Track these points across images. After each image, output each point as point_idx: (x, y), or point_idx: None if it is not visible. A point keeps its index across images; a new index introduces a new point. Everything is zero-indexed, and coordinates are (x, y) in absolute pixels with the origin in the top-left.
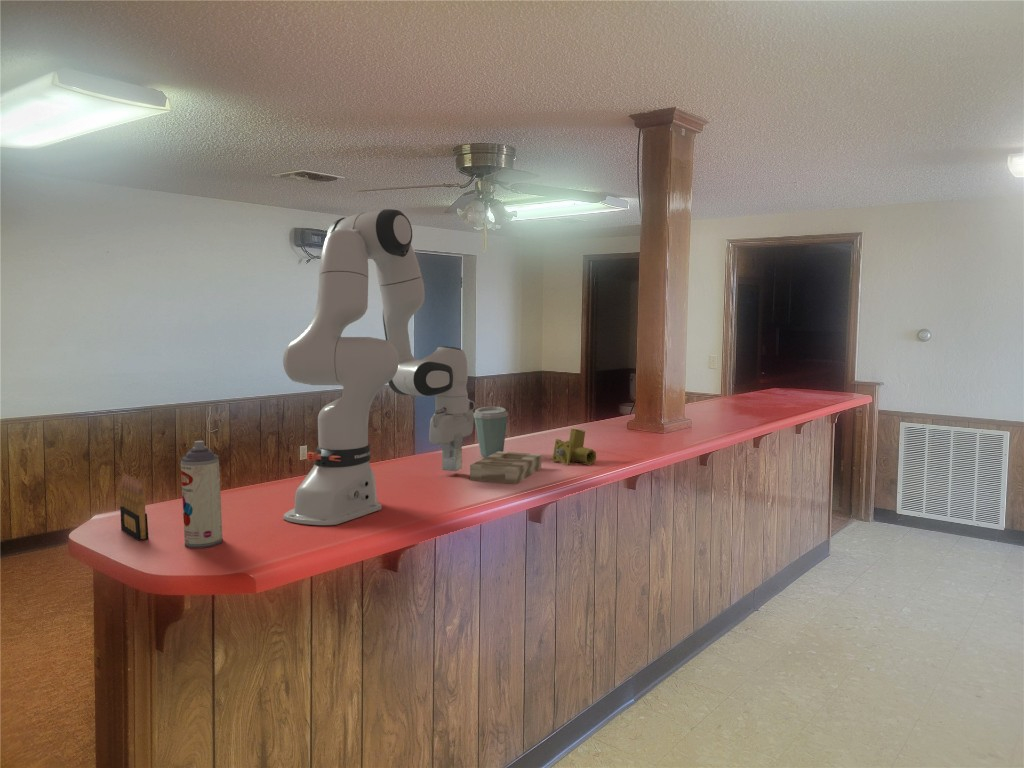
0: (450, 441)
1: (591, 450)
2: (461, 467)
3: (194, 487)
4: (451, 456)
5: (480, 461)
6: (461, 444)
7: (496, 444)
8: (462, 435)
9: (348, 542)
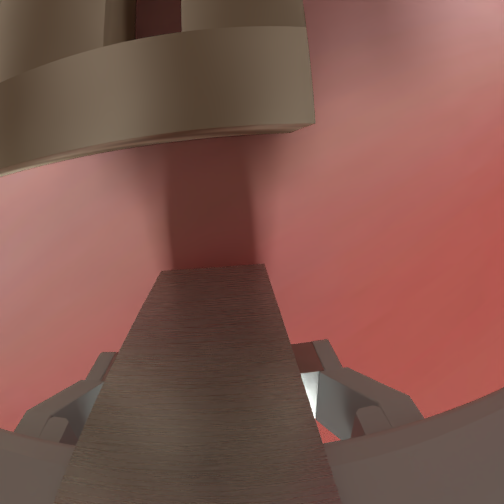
0: (432, 417)
1: None
2: (167, 272)
3: None
4: None
5: (137, 110)
6: (111, 378)
7: None
8: (33, 455)
9: None
